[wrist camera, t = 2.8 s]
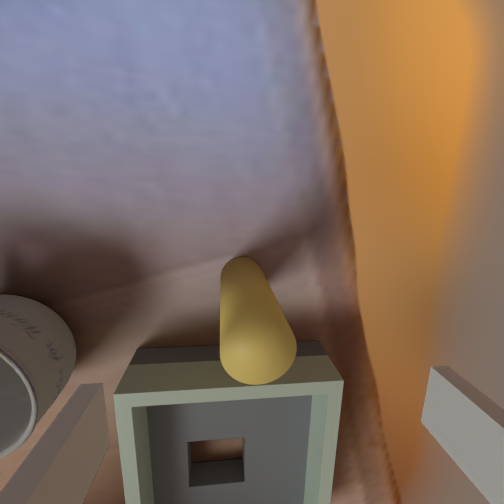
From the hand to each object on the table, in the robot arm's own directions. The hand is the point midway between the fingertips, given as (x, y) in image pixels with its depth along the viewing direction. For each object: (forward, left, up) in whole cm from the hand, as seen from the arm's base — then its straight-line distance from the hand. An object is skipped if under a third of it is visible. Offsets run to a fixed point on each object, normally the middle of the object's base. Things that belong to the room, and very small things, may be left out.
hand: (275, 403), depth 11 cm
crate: (+18, -1, -15) cm, 24 cm away
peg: (0, 0, -15) cm, 15 cm away
